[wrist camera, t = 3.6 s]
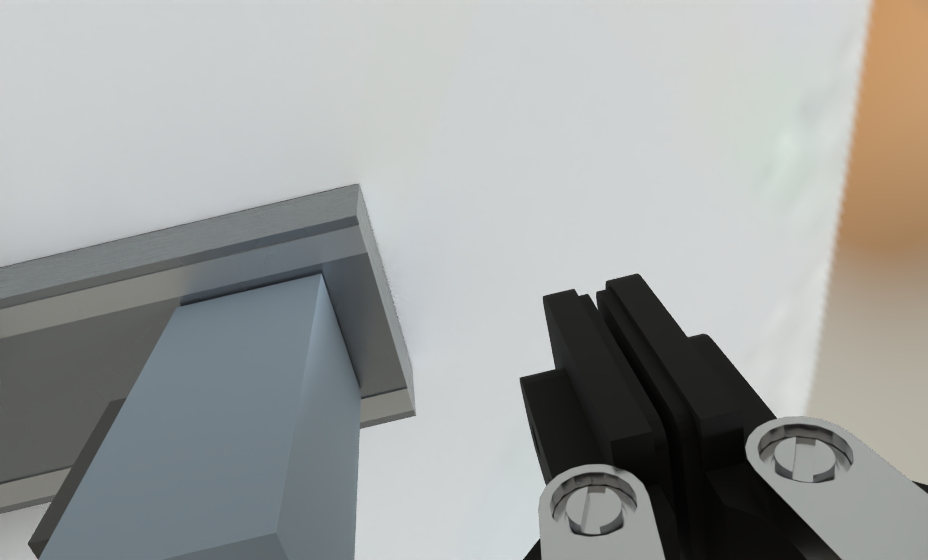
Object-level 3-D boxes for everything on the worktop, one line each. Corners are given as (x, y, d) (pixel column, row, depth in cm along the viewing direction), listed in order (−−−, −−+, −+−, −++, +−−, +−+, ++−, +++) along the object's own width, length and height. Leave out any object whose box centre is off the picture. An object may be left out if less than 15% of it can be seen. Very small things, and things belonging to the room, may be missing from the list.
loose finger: (147, 314, 14) (-31, 604, 8) (321, 273, 14) (276, 532, 8) (201, 430, 16) (83, 757, 10) (360, 392, 16) (348, 694, 10)
